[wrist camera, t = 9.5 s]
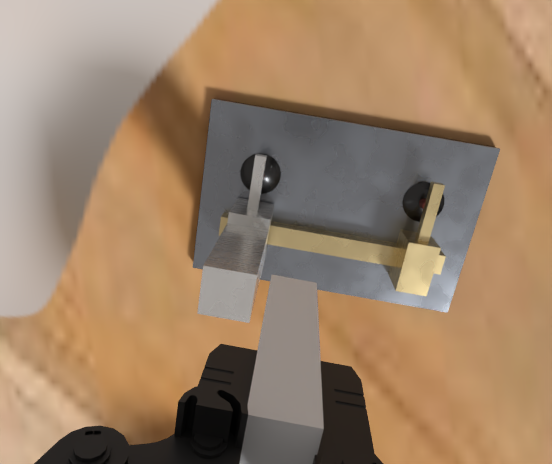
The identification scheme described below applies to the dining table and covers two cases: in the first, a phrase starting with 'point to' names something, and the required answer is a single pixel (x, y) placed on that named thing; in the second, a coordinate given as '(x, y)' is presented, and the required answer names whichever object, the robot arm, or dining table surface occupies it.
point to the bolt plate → (343, 193)
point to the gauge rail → (375, 246)
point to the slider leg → (238, 255)
